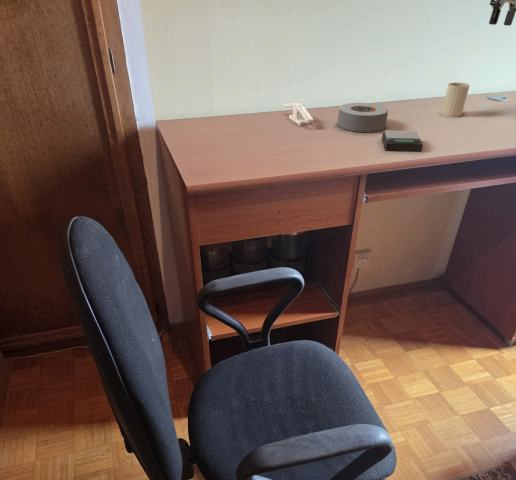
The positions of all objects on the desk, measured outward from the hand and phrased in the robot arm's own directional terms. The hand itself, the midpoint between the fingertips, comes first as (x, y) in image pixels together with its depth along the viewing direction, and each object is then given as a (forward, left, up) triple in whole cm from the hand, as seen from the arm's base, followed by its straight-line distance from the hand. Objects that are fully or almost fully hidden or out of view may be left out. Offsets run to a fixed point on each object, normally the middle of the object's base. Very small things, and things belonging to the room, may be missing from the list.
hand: (499, 24), depth 138 cm
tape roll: (+40, +17, -25) cm, 50 cm away
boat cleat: (+60, +13, -25) cm, 66 cm away
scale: (+30, +36, -25) cm, 53 cm away
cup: (+8, +1, -25) cm, 26 cm away
